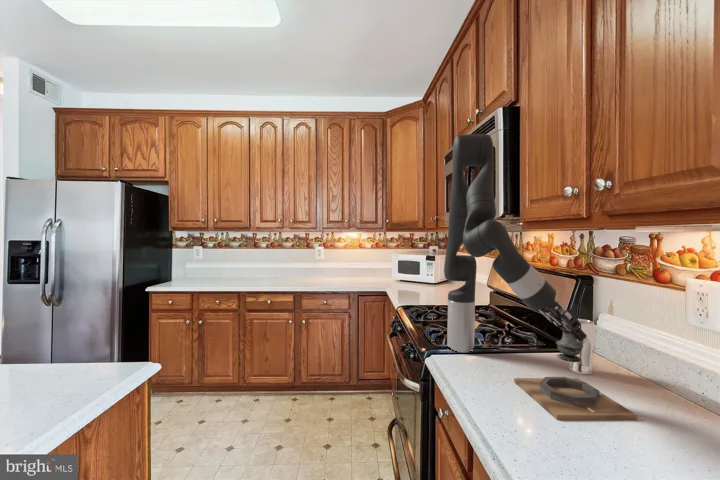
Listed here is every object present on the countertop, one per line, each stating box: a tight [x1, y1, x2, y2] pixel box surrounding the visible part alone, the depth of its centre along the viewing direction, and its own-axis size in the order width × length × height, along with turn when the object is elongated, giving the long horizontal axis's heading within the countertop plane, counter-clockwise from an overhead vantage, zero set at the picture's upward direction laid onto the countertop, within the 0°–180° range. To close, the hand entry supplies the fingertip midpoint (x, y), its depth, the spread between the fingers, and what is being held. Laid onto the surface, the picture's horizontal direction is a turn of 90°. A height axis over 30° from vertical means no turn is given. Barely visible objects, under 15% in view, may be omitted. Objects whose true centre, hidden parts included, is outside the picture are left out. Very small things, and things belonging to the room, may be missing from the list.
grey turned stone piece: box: [555, 326, 583, 363], centre depth 87 cm, size 6×6×12 cm
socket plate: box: [513, 376, 638, 421], centre depth 87 cm, size 20×18×3 cm
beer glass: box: [568, 318, 596, 376], centre depth 105 cm, size 7×7×15 cm
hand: (577, 336), depth 87 cm, fingers closed on grey turned stone piece, 3 cm apart
